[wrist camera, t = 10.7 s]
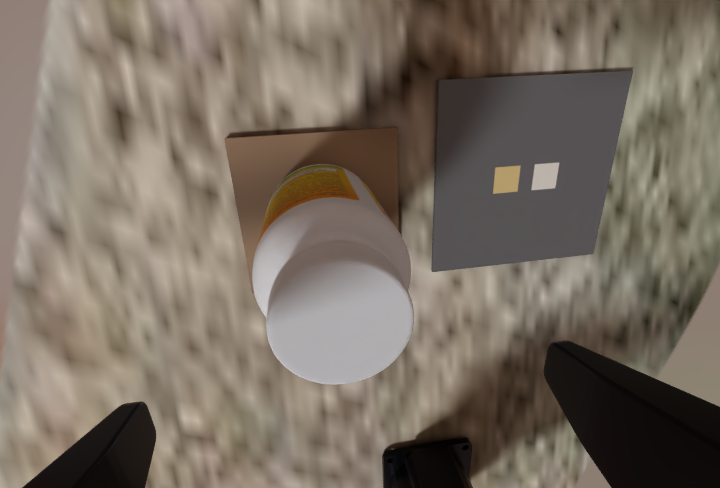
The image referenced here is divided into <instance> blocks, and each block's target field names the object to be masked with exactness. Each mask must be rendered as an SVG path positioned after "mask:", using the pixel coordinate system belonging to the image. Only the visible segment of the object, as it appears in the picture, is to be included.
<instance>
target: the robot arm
mask: <svg viewBox="0 0 720 488" xmlns="http://www.w3.org/2000/svg"><path fill="white" fill-rule="evenodd" d="M544 376H545V379H546V381H547V383H548V385H549V387H550V389H551V390H552V392H553V394H554V396H555V398H556V399H557V401H558V403H559V405H560V407H561V408H562V410H563V412H564V414H565V415H566V417H567V419H568V421H569V423H570V424H571V426H572V428H573V430H574V432H575V433H576V435H577V437H578V438H579V440H580V442H581V443H582V445H583V446H584V448H585V449H586V451H587V452H588V454H589V455H590V457H591V458H592V460H593V461H594V463H595V464H596V466H597V467H598V469H599V470H600V471H601V473H602V474H603V476H604V477H605V479H606V480H607V482H608V483H609V485H610V486H611V487H612V488H720V407H719V406H716V405H714V404H712V403H710V402H707V401H705V400H703V399H701V398H698V397H696V396H694V395H691V394H689V393H687V392H685V391H682V390H680V389H677V388H675V387H673V386H670V385H668V384H666V383H664V382H662V381H659V380H657V379H655V378H652V377H650V376H648V375H646V374H643V373H641V372H639V371H636V370H634V369H632V368H630V367H627V366H625V365H623V364H620V363H618V362H616V361H614V360H611V359H609V358H607V357H604V356H602V355H600V354H598V353H595V352H593V351H591V350H589V349H586V348H584V347H582V346H579V345H577V344H575V343H573V342H570V341H559V342H553V343H550V345H549V346H548V349H547V355H546V360H545V366H544ZM155 442H156V430H155V427H154V424H153V421H152V418H151V415H150V413H149V410H148V407H147V405H146V404H145V403H144V402H133V403H126V404H123V405H121V406H119V407H118V408H117V409H115V410H114V411H113V412H112V413H111V414H109V415H108V416H107V417H106V418H105V419H104V420H102V421H101V422H100V423H99V424H98V425H96V426H95V427H94V428H93V429H92V430H90V431H89V432H88V433H87V434H86V435H84V436H83V437H82V438H81V439H80V440H78V441H77V442H76V443H75V444H74V445H73V446H71V447H70V448H69V449H68V450H67V451H65V452H64V453H63V454H62V455H61V456H59V457H58V458H57V459H56V460H55V461H53V462H52V463H51V464H50V465H49V466H47V467H46V468H45V469H44V470H43V471H41V472H40V473H39V474H38V475H37V476H36V477H34V478H33V479H32V480H31V481H30V482H28V483H27V484H26V485H25V486H24V487H22V488H145V485H146V481H147V477H148V472H149V468H150V464H151V459H152V455H153V451H154V447H155ZM471 452H472V444H471V442H470V440H469V439H468V438H460V439H454V440H448V441H442V442H437V443H431V444H425V445H419V446H413V447H407V448H401V449H396V450H390V451H386V452H385V453H384V454H383V456H382V465H383V488H473V487H472V484H471V482H470V480H469V472H470V462H471Z"/></svg>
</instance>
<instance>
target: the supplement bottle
mask: <svg viewBox="0 0 720 488" xmlns="http://www.w3.org/2000/svg"><path fill="white" fill-rule="evenodd" d="M410 278H411V264H410V257H409V253H408V250H407V247H406V245H405V242H404V240H403V238H402V236H401V235H400V233H399V231H398V229H397V228H396V226H395V225H394V223H393V222H392V221H391V219H390V218H389V217H388V215H387V214H386V212H385V211H384V209H383V208H382V207H381V205H380V204H379V202H378V201H377V199H376V198H375V196H374V195H373V193H372V192H371V190H370V189H369V188H368V187H367V185H366V184H365V183H364V182H363V181H362V180H361V179H360V178H359V177H358V176H356V175H355V174H354V173H352V172H351V171H349V170H347V169H345V168H342V167H339V166H335V165H330V164H315V165H309V166H305V167H302V168H300V169H298V170H296V171H294V172H292V173H291V174H289V175H288V176H287V177H286V178H285V179H283V180H282V181H281V183H280V184H279V185H278V186H277V188H276V189H275V191H274V192H273V194H272V197H271V199H270V201H269V204H268V207H267V211H266V215H265V219H264V222H263V226H262V230H261V234H260V237H259V241H258V244H257V248H256V251H255V255H254V261H253V269H252V282H253V290H254V294H255V297H256V300H257V303H258V305H259V307H260V309H261V311H262V312H263V314H264V315H265V316H266V318H267V320H266V330H267V337H268V341H269V344H270V346H271V348H272V351H273V352H274V354H275V356H276V357H277V359H278V360H279V361H280V362H281V363H282V364H283V365H284V366H285V367H286V368H287V369H288V370H290V371H291V372H292V373H294V374H296V375H297V376H300V377H302V378H304V379H306V380H309V381H313V382H317V383H322V384H347V383H352V382H357V381H360V380H363V379H366V378H369V377H371V376H373V375H375V374H377V373H379V372H380V371H382V370H383V369H385V368H386V367H388V366H389V365H390V364H391V363H392V362H393V361H394V360H395V359H396V358H397V357H398V356H399V355H400V354H401V352H402V351H403V350H404V348H405V346H406V344H407V342H408V340H409V338H410V335H411V332H412V328H413V322H414V311H413V304H412V300H411V297H410V295H409V293H408V289H409V284H410Z"/></svg>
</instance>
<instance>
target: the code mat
mask: <svg viewBox="0 0 720 488" xmlns="http://www.w3.org/2000/svg"><path fill="white" fill-rule="evenodd" d="M632 72H633V71H615V72H594V73H573V74H552V75H531V76H510V77H489V78H468V79H447V80H438V89H437V120H436V150H435V181H434V211H433V242H432V272H437V271H446V270H455V269H464V268H473V267H482V266H491V265H499V264H508V263H517V262H526V261H535V260H544V259H553V258H561V257H570V256H579V255H588V254H593V252H594V247H595V242H596V238H597V233H598V229H599V224H600V219H601V215H602V210H603V206H604V201H605V196H606V192H607V187H608V183H609V178H610V173H611V169H612V164H613V160H614V155H615V150H616V146H617V141H618V137H619V132H620V127H621V123H622V118H623V114H624V109H625V104H626V100H627V95H628V91H629V86H630V82H631V77H632Z"/></svg>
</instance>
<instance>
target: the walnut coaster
mask: <svg viewBox="0 0 720 488" xmlns="http://www.w3.org/2000/svg"><path fill="white" fill-rule="evenodd" d="M225 144H226V149H227V155H228V160H229V166H230V171H231V177H232V182H233V188H234V193H235V199H236V204H237V210H238V215H239V221H240V226H241V232H242V237H243V243H244V248H245V254H246V259H247V265H248V270H249V276H250V281H251V287H252V292H253V293H254V290H253V282H252V269H253V261H254V255H255V251H256V248H257V244H258V241H259V237H260V234H261V230H262V226H263V222H264V219H265V215H266V211H267V207H268V204H269V201H270V199H271V197H272V194H273V192H274V191H275V189H276V188H277V186H278V185H279V184H280V183H281V181H282V180H283V179H285V178H286V177H287V176H288V175H289V174H291V173H292V172H294V171H296V170H298V169H300V168H302V167H305V166H309V165H315V164H330V165H335V166H339V167H342V168H345V169H347V170H349V171H351V172H352V173H354V174H355V175H356V176H358V177H359V178H360V179H361V180H362V181H363V182H364V183H365V184H366V185H367V187H368V188H369V189H370V190H371V192H372V193H373V195H374V196H375V198H376V199H377V201H378V202H379V204H380V205H381V207H382V208H383V209H384V211H385V212H386V214H387V215H388V217H389V218H390V219H391V221H392V222H393V223H394V225H395V226H396V228H397V229H398V231H399V215H398V127H390V128H374V129H358V130H342V131H326V132H310V133H295V134H279V135H263V136H247V137H231V138H225Z"/></svg>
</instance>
